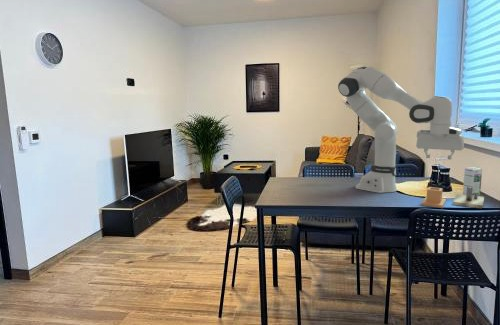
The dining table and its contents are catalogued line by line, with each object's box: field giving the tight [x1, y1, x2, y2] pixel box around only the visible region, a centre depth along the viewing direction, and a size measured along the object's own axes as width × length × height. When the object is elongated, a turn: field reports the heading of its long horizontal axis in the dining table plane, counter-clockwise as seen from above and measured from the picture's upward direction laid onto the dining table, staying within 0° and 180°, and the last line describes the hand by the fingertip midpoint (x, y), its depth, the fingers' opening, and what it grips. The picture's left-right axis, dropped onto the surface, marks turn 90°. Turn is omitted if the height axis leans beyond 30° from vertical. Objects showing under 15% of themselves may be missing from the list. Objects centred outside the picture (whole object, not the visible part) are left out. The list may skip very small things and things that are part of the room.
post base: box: [452, 193, 485, 209], centre depth 172 cm, size 12×18×2 cm, turn 144°
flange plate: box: [421, 186, 447, 209], centre depth 171 cm, size 14×9×7 cm, turn 144°
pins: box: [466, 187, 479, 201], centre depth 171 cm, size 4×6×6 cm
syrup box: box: [462, 167, 483, 196], centre depth 184 cm, size 6×6×14 cm
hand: (438, 158), depth 168 cm, fingers open, 8 cm apart
